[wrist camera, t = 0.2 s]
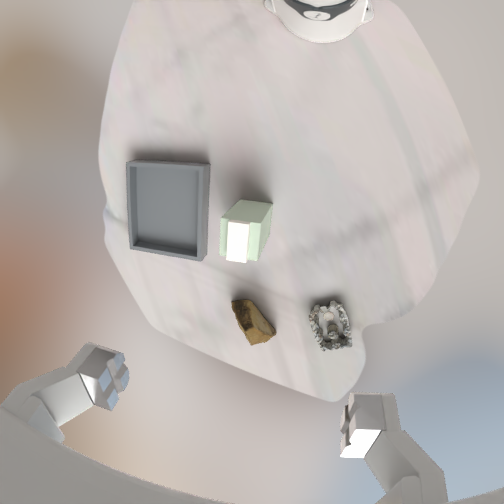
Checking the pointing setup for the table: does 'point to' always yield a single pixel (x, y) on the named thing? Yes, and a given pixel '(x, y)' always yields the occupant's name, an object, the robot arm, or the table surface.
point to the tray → (168, 207)
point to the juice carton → (245, 230)
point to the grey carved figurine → (331, 327)
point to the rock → (252, 322)
